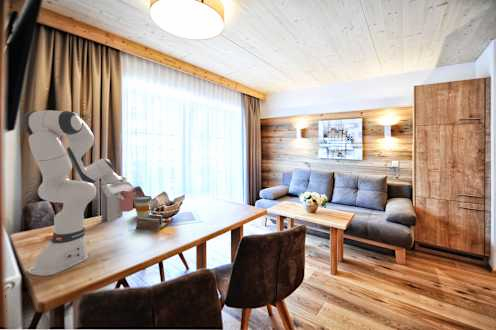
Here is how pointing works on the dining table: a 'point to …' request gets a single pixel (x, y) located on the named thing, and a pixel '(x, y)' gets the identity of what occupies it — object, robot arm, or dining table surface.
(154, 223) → the shelf
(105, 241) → the dining table surface
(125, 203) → the book
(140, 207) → the reusable coffee cup
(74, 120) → the robot arm
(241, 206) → the dining table surface
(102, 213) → the tall upright panel
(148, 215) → the bookend
